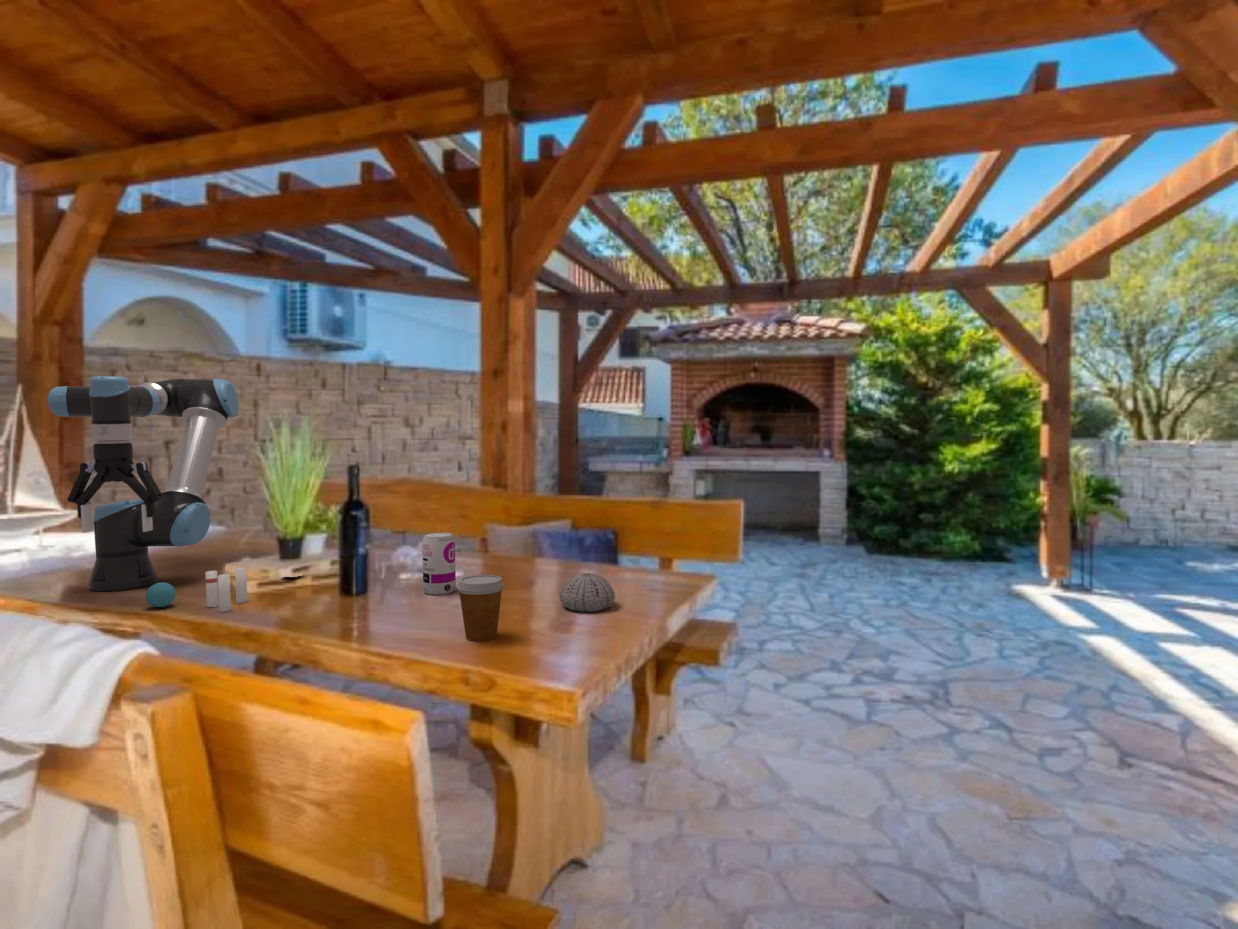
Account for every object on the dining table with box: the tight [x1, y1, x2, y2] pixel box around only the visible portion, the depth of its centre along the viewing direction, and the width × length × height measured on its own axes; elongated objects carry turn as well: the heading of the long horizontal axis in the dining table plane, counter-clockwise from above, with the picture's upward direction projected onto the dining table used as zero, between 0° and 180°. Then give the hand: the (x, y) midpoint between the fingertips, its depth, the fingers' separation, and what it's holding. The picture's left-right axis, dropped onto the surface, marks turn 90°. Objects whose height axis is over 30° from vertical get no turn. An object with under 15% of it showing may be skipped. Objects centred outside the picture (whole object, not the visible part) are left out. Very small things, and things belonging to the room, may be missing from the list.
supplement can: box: [421, 532, 457, 596], centre depth 180 cm, size 8×8×15 cm
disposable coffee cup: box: [456, 574, 505, 642], centre depth 142 cm, size 10×10×12 cm
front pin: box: [204, 570, 219, 608], centre depth 167 cm, size 2×2×8 cm
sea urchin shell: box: [558, 572, 616, 613], centre depth 166 cm, size 13×14×8 cm
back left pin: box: [234, 566, 248, 604], centre depth 171 cm, size 2×2×8 cm
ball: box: [145, 581, 177, 609], centre depth 166 cm, size 6×6×6 cm
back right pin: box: [217, 573, 232, 613], centre depth 163 cm, size 2×2×8 cm
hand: (118, 531), depth 165 cm, fingers open, 13 cm apart
